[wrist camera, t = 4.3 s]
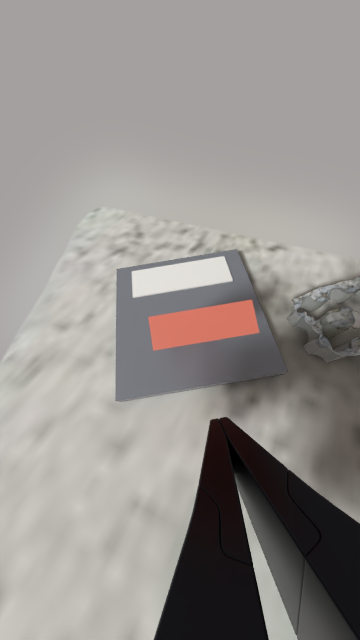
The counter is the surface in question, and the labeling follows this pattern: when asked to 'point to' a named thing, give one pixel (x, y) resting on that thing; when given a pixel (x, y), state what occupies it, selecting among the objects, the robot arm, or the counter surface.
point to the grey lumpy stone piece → (328, 319)
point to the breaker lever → (203, 325)
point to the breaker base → (195, 359)
